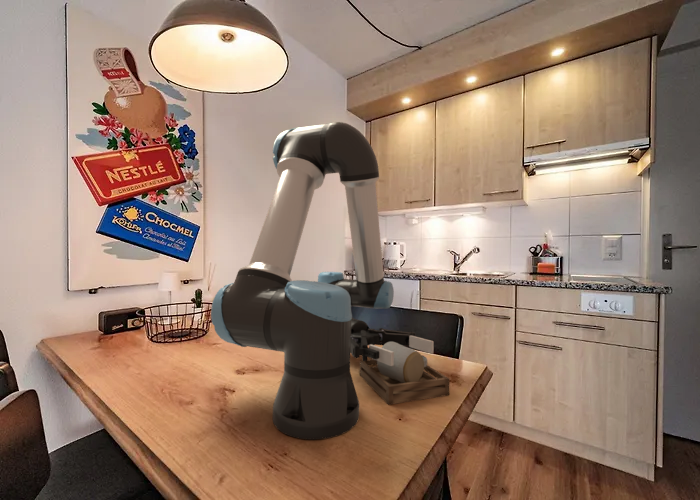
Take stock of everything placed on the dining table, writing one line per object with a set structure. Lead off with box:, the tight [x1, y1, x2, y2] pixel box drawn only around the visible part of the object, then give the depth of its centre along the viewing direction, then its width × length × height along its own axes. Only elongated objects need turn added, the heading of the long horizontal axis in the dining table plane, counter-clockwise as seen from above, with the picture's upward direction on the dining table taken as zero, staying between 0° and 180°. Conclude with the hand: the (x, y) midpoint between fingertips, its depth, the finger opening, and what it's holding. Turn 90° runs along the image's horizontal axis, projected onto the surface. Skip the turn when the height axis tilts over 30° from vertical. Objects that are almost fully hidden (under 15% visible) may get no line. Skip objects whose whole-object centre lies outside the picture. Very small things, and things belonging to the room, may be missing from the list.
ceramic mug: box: [376, 342, 428, 383], centre depth 70 cm, size 11×8×8 cm
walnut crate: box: [359, 358, 450, 405], centre depth 69 cm, size 14×15×3 cm
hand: (413, 352), depth 67 cm, fingers open, 13 cm apart
